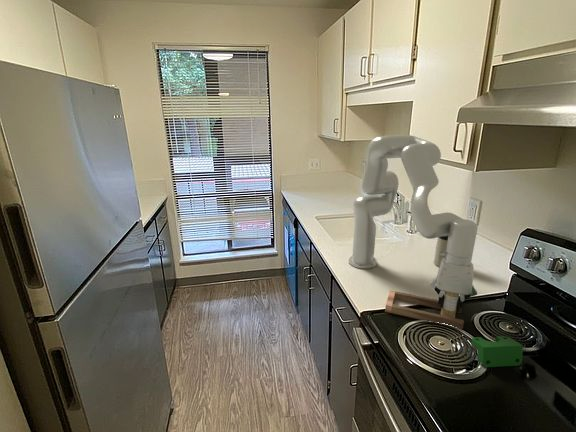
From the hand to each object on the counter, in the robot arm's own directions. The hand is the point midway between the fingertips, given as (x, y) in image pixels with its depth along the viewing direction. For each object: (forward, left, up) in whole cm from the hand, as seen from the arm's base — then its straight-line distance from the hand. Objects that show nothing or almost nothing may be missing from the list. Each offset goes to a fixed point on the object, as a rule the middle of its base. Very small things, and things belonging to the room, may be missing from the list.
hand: (449, 307), depth 109 cm
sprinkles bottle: (0, 0, -4) cm, 4 cm away
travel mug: (-43, -1, -4) cm, 43 cm away
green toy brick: (+16, +11, -4) cm, 20 cm away
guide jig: (0, -7, -4) cm, 8 cm away
